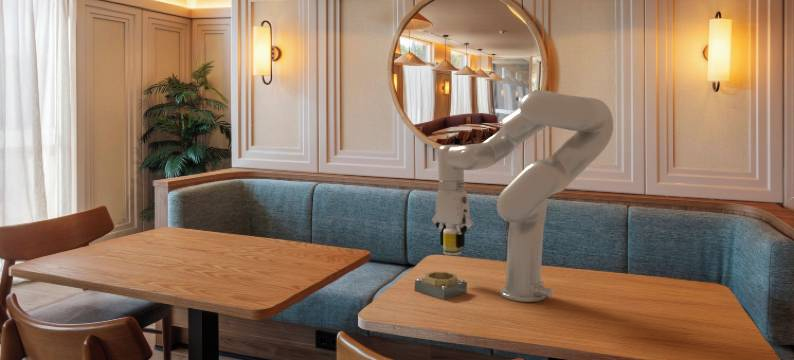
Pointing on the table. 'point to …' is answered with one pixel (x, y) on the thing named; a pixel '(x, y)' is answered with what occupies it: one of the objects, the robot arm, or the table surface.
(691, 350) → the table surface
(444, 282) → the octagonal bottle holder
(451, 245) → the supplement bottle
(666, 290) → the table surface
